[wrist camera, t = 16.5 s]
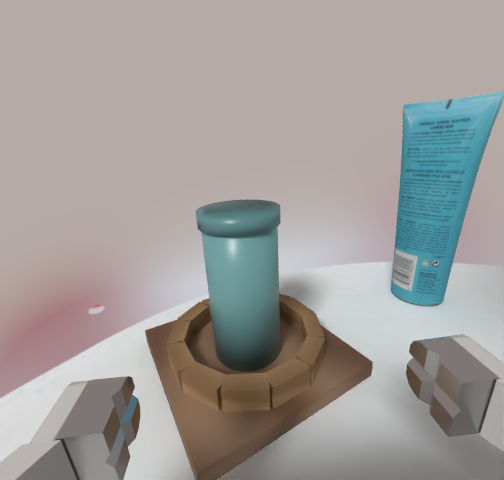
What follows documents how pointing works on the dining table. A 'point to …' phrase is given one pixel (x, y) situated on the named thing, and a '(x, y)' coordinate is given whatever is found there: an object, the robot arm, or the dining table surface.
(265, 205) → the teal rimmed peg
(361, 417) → the dining table surface
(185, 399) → the collar base
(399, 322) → the dining table surface
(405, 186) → the tube
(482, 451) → the dining table surface
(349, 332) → the dining table surface
